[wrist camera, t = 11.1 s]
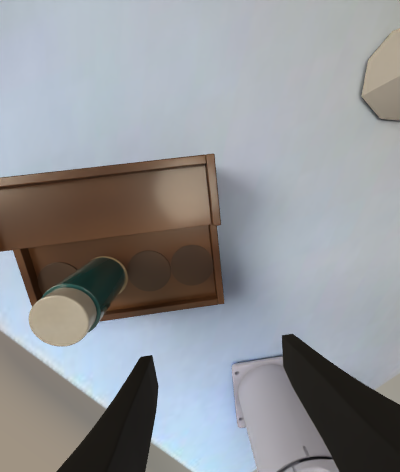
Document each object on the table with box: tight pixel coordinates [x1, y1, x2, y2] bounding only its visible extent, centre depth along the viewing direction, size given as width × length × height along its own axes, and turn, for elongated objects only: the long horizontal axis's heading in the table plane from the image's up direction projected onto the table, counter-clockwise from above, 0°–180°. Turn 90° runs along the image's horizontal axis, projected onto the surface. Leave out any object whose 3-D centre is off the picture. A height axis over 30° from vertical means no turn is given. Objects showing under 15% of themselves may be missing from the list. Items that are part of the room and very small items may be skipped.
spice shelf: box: [0, 154, 224, 321], centre depth 17 cm, size 13×17×5 cm
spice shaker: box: [29, 257, 126, 346], centre depth 15 cm, size 4×4×6 cm
